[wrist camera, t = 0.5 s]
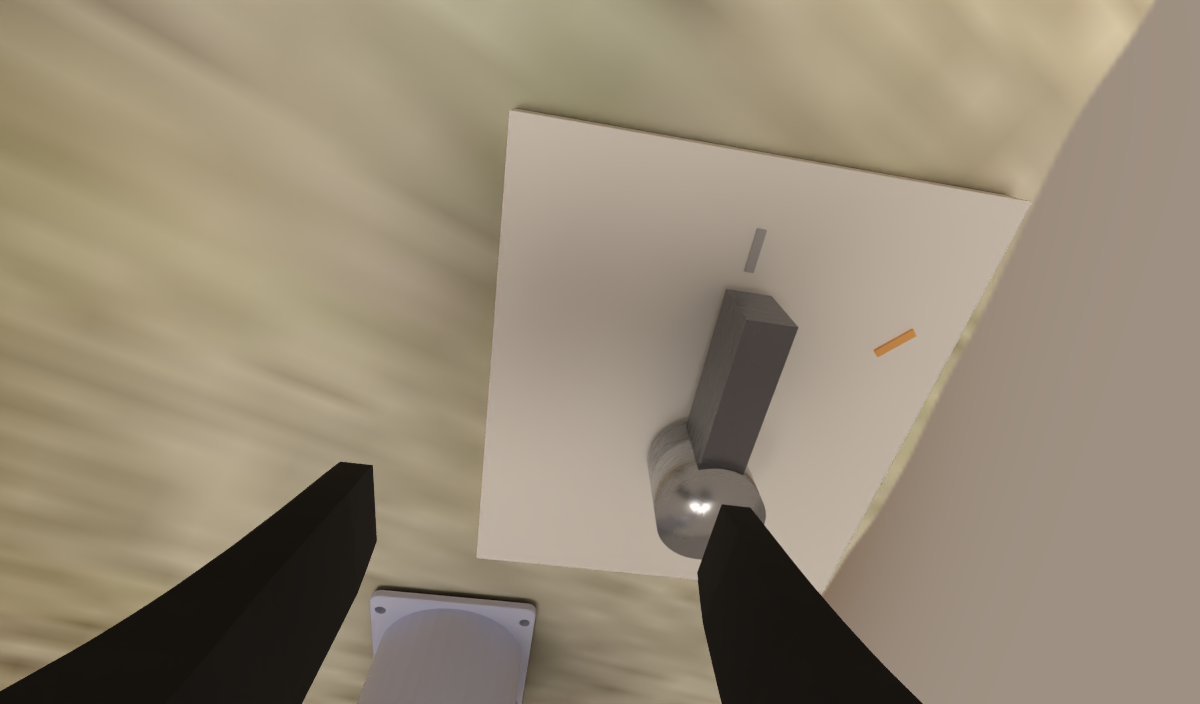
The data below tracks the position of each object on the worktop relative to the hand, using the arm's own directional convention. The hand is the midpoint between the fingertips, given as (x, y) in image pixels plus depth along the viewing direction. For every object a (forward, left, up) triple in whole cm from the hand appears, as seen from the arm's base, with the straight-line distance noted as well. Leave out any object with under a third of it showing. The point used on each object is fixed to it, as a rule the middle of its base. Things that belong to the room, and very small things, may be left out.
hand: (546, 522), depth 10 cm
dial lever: (-1, -6, -8) cm, 10 cm away
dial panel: (-2, -6, -9) cm, 11 cm away
